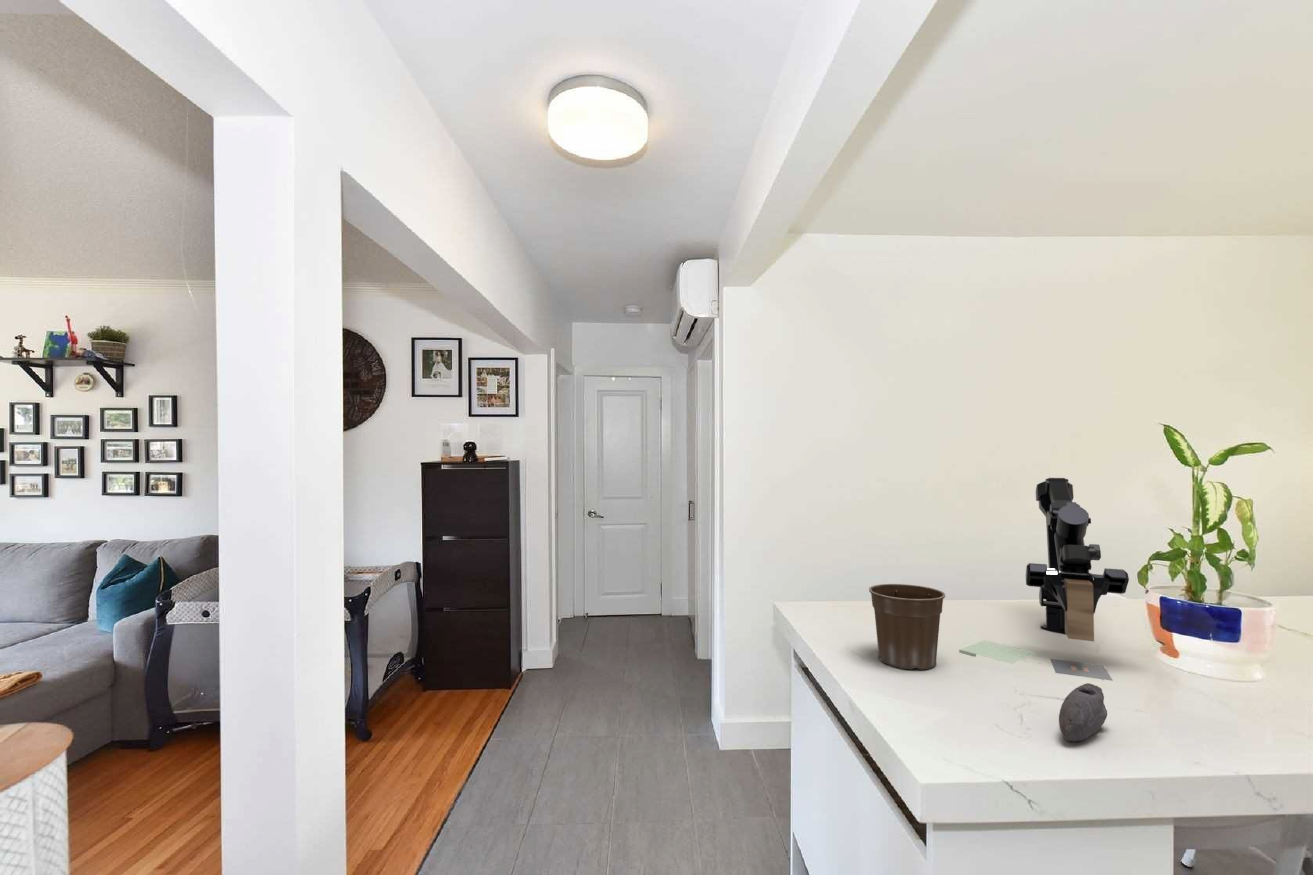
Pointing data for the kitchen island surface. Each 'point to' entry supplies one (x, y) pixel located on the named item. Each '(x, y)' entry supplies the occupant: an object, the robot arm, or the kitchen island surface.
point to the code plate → (1080, 669)
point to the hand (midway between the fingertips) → (1079, 611)
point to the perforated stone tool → (1082, 712)
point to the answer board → (997, 651)
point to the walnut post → (1079, 609)
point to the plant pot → (907, 624)
